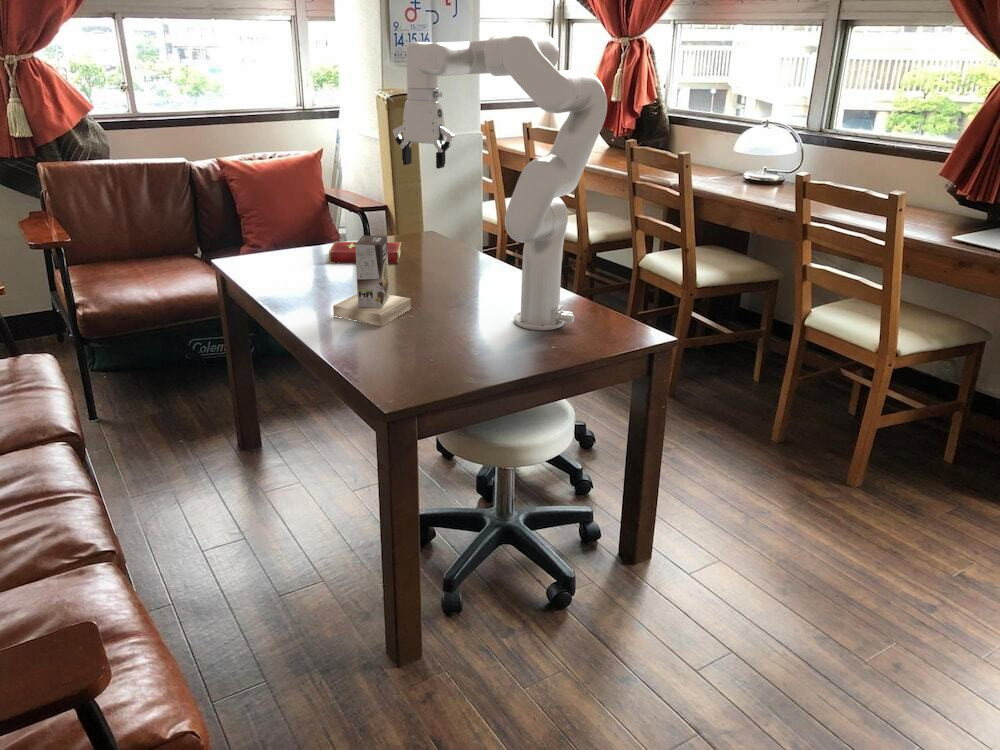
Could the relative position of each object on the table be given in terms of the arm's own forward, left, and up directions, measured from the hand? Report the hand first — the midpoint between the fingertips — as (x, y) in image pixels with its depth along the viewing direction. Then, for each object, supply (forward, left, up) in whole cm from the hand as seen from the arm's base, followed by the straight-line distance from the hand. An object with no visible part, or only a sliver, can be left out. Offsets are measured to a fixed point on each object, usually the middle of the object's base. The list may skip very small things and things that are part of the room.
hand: (423, 166), depth 208 cm
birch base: (+4, +20, -34) cm, 40 cm away
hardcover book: (+34, -22, -35) cm, 54 cm away
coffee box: (+4, +20, -32) cm, 37 cm away
